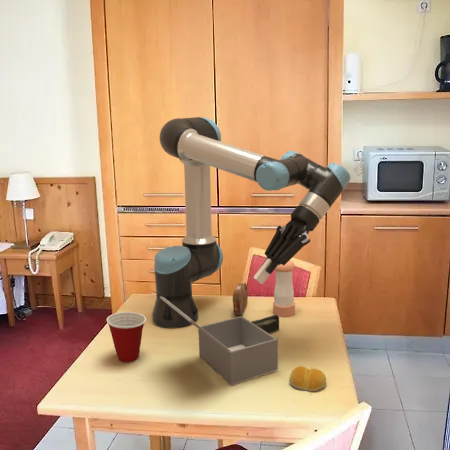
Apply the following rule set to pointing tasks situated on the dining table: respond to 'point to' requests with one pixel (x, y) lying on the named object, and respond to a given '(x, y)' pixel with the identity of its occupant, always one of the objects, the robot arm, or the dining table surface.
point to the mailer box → (239, 350)
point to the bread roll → (307, 379)
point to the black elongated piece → (268, 323)
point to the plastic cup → (126, 334)
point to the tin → (240, 299)
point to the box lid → (194, 324)
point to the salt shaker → (284, 291)
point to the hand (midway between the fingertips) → (257, 280)
